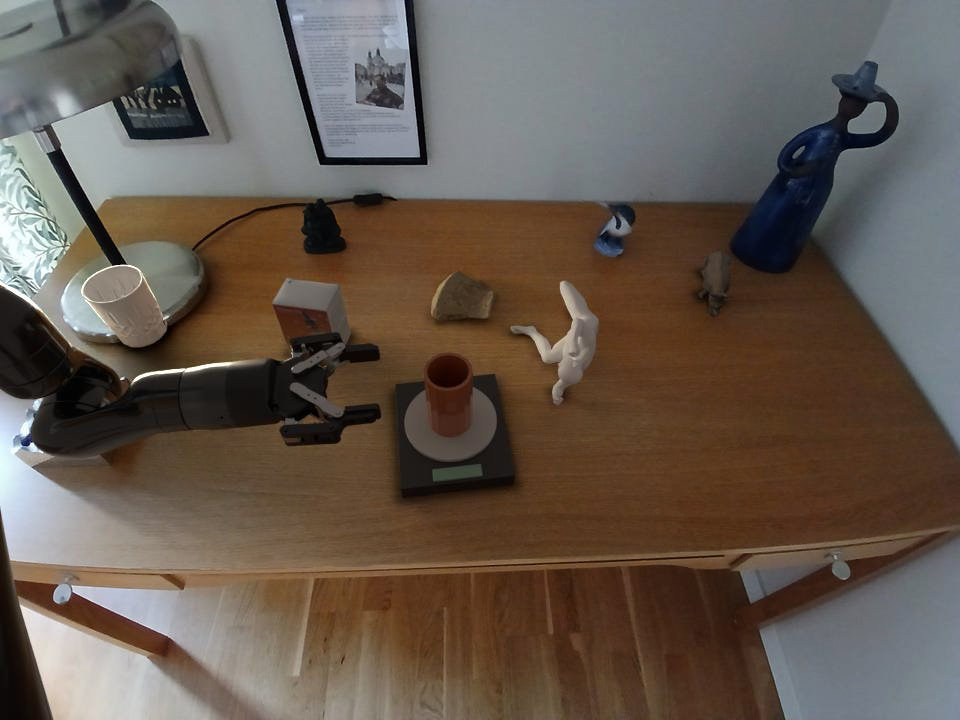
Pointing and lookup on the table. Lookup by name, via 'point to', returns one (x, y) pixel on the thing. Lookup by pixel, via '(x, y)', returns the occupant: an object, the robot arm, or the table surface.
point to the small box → (310, 310)
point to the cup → (449, 393)
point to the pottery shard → (462, 299)
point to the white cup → (126, 305)
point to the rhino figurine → (716, 280)
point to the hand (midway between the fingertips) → (379, 380)
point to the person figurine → (568, 342)
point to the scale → (452, 444)
